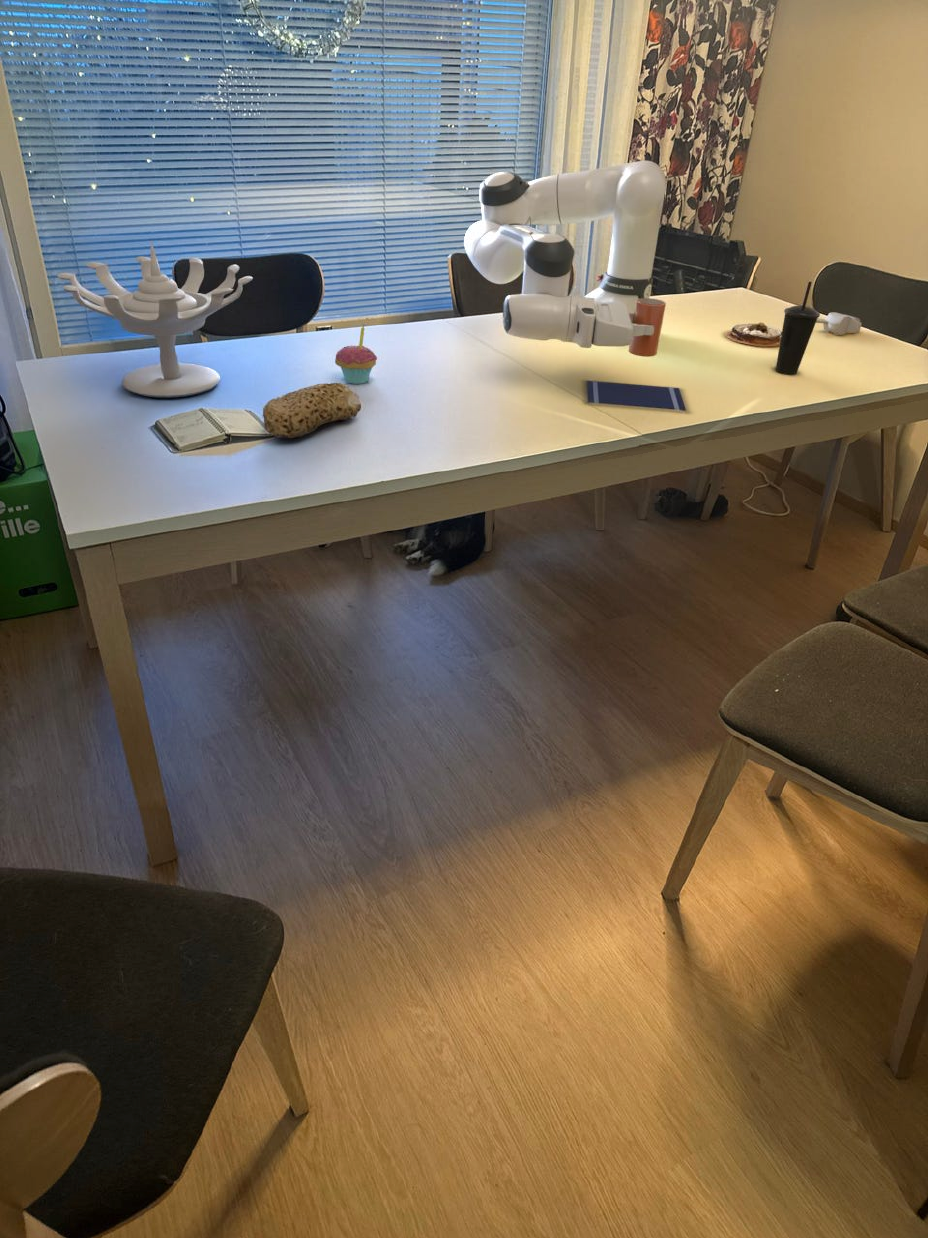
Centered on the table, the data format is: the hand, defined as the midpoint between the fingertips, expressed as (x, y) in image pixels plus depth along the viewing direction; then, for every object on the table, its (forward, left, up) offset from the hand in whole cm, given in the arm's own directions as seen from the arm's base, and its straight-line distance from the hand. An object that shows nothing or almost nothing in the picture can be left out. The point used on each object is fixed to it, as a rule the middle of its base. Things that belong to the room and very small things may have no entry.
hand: (651, 325), depth 168 cm
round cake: (+1, +63, -15) cm, 65 cm away
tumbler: (-1, 0, -6) cm, 6 cm away
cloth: (-1, -1, -15) cm, 15 cm away
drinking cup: (+17, +41, -15) cm, 47 cm away
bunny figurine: (+15, +86, -15) cm, 89 cm away
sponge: (-37, -60, -15) cm, 72 cm away
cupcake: (-49, -35, -15) cm, 62 cm away
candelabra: (-73, -63, -15) cm, 97 cm away
